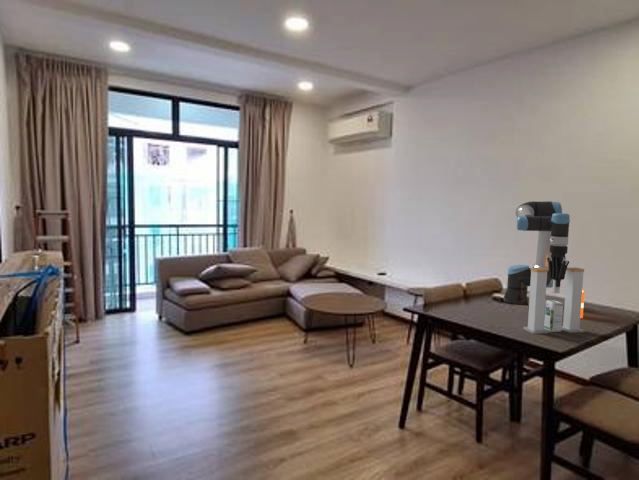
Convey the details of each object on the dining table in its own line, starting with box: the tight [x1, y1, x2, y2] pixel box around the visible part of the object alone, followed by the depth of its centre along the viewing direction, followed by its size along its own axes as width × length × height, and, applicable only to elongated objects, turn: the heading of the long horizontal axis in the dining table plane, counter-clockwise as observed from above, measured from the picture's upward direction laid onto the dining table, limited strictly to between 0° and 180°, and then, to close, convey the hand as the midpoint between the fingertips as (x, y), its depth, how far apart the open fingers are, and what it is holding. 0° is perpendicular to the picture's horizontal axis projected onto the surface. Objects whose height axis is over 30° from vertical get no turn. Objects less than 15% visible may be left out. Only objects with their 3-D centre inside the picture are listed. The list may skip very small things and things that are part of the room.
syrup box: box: [544, 299, 564, 333], centre depth 208 cm, size 6×6×14 cm
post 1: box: [522, 267, 549, 335], centre depth 206 cm, size 8×8×31 cm
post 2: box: [561, 267, 585, 334], centre depth 208 cm, size 8×8×31 cm
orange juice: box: [580, 288, 585, 319], centre depth 235 cm, size 8×9×20 cm
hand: (555, 292), depth 206 cm, fingers closed
